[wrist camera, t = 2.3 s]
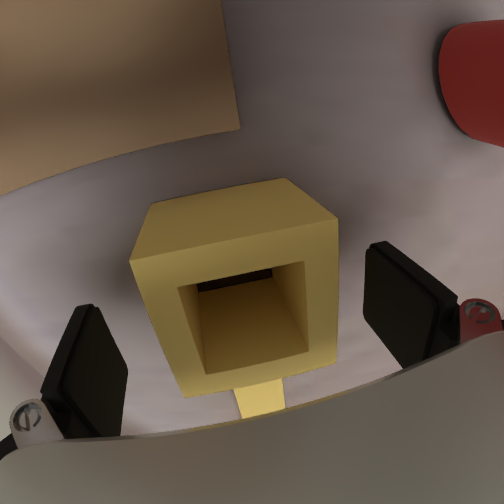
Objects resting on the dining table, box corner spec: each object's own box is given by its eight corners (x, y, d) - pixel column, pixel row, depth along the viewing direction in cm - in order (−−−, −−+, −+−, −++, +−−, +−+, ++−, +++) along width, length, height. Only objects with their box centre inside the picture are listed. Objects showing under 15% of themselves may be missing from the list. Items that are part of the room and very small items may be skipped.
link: (151, 203, 12) (129, 260, 7) (285, 177, 12) (337, 218, 8) (226, 433, 19) (237, 494, 15) (302, 415, 20) (324, 474, 15)
